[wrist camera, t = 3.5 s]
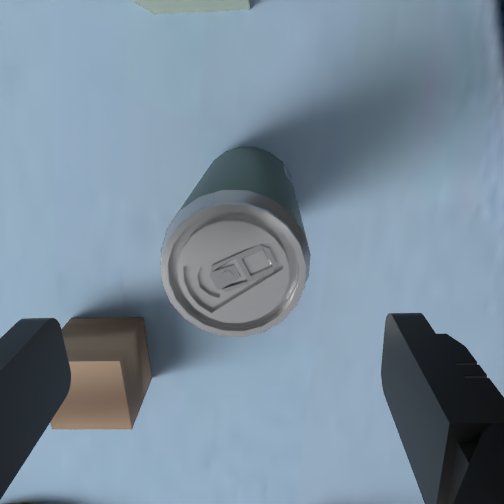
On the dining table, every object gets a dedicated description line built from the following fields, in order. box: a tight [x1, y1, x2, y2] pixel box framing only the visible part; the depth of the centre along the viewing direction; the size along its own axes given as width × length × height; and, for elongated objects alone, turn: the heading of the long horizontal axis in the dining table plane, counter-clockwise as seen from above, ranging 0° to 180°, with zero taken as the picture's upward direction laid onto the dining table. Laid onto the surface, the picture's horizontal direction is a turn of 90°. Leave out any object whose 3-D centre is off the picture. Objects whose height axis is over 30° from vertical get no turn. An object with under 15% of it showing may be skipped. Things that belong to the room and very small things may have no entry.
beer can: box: [161, 147, 310, 337], centre depth 20 cm, size 5×5×12 cm
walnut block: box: [50, 317, 152, 429], centre depth 28 cm, size 5×5×5 cm
